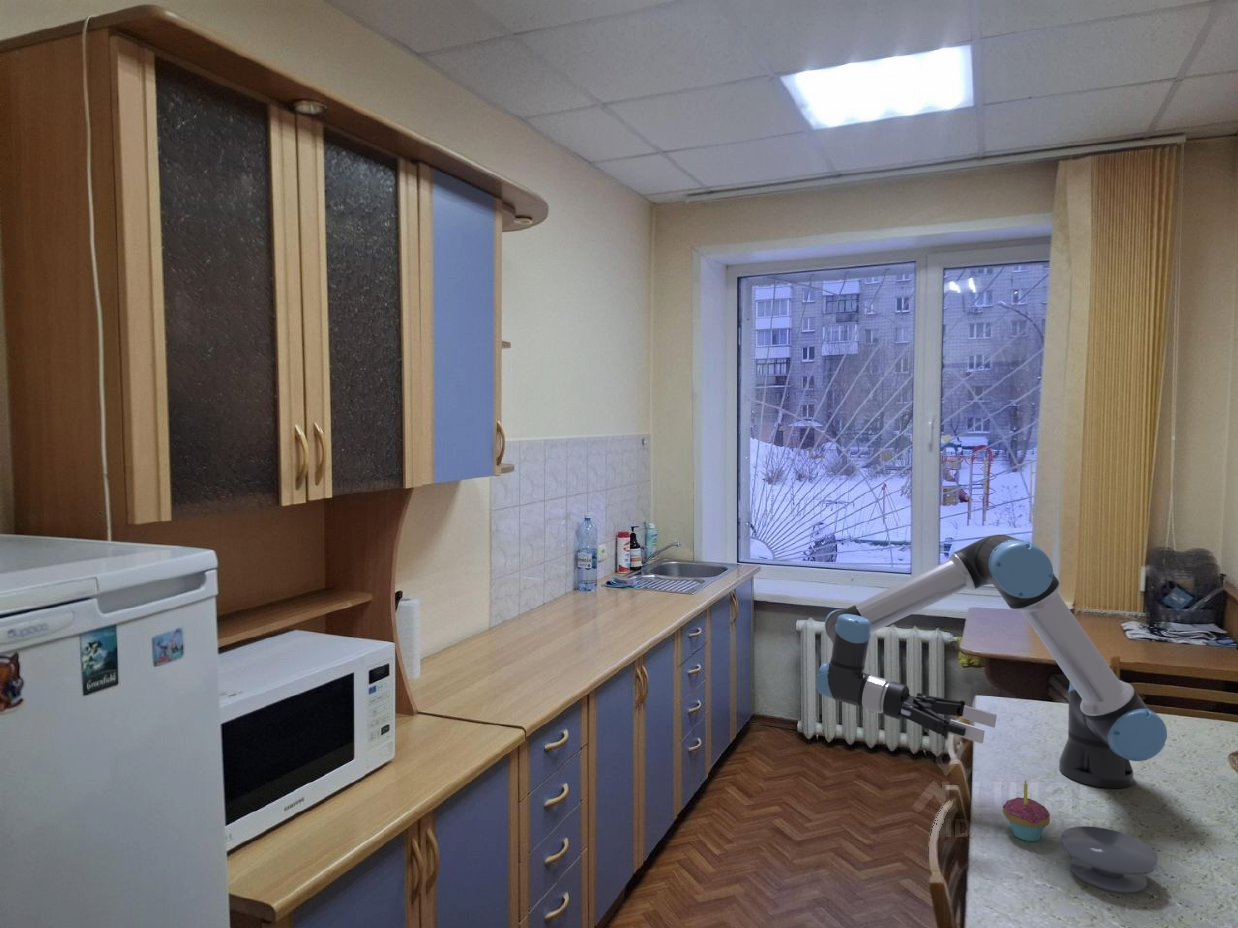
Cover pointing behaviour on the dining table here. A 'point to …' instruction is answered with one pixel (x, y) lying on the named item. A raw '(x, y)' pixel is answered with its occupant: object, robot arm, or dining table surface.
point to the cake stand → (1109, 859)
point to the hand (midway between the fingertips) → (990, 728)
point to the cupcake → (1026, 817)
